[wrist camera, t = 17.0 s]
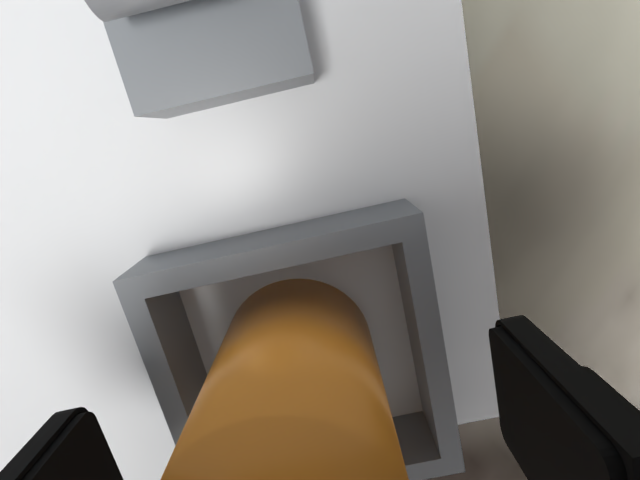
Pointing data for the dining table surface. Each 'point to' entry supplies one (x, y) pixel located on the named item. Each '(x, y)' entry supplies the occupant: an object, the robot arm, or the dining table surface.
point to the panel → (237, 207)
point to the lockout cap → (292, 395)
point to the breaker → (126, 7)
